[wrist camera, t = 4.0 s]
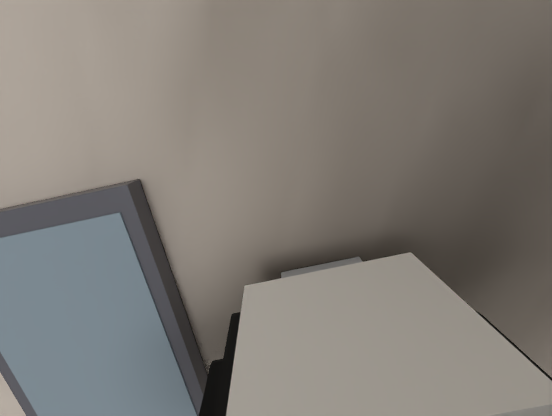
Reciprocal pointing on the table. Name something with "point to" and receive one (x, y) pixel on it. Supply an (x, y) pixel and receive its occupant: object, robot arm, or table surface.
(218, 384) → the robot arm
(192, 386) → the phone
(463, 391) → the charger plug
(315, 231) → the table surface
